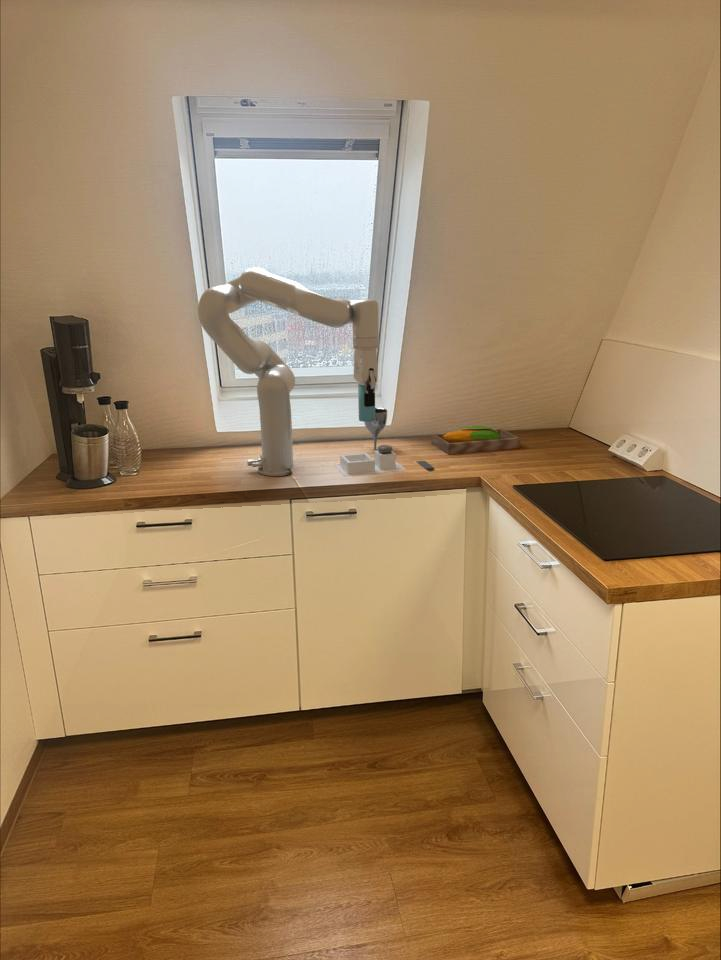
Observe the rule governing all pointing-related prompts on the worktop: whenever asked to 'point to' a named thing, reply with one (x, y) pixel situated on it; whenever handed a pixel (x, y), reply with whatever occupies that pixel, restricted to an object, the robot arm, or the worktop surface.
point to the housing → (368, 464)
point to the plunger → (385, 449)
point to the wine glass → (377, 424)
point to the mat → (425, 465)
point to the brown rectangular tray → (477, 443)
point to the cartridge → (364, 412)
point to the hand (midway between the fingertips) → (366, 403)
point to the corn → (472, 434)
